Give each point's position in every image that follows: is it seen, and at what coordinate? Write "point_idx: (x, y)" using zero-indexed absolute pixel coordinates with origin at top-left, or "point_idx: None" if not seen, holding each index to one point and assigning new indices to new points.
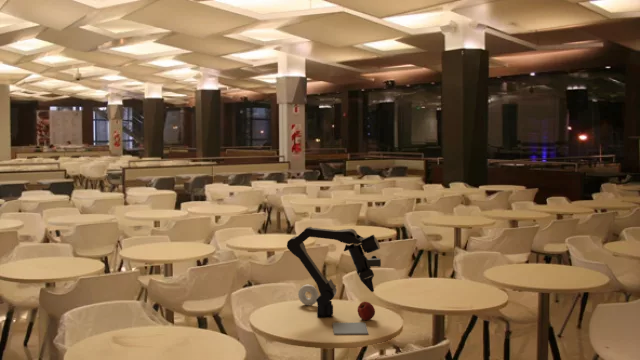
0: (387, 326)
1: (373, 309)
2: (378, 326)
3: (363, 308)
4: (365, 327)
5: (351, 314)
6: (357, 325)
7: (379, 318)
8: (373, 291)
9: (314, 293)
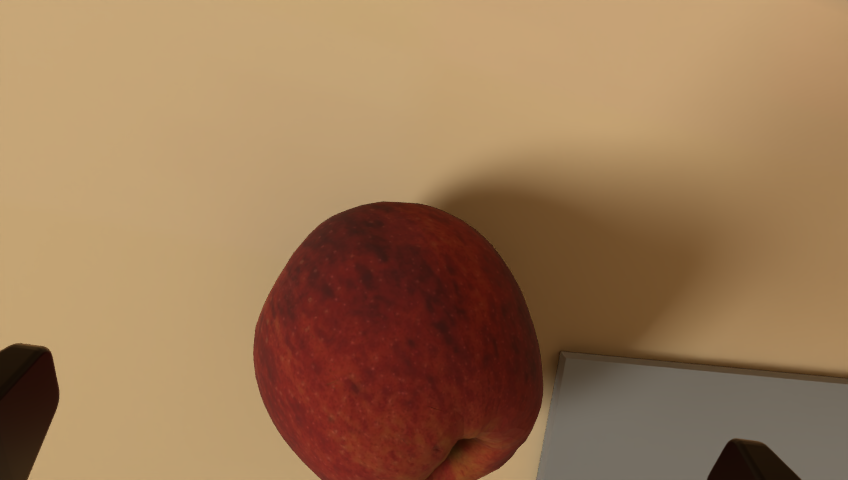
0: (722, 88)
1: (482, 256)
2: (694, 206)
3: (519, 446)
4: (754, 389)
5: (129, 454)
6: (661, 467)
7: (363, 106)
8: (755, 451)
9: None
